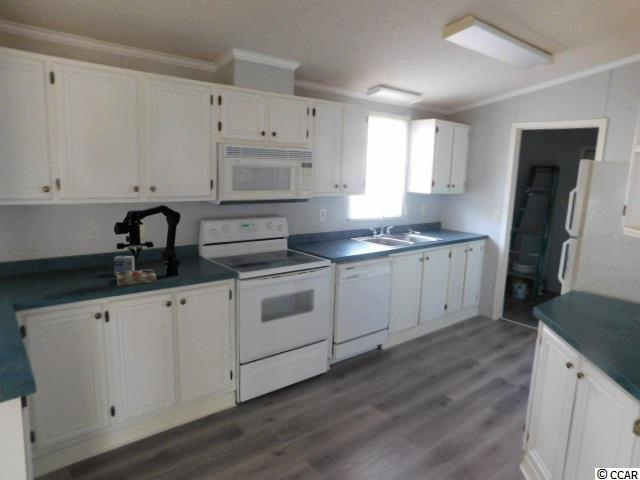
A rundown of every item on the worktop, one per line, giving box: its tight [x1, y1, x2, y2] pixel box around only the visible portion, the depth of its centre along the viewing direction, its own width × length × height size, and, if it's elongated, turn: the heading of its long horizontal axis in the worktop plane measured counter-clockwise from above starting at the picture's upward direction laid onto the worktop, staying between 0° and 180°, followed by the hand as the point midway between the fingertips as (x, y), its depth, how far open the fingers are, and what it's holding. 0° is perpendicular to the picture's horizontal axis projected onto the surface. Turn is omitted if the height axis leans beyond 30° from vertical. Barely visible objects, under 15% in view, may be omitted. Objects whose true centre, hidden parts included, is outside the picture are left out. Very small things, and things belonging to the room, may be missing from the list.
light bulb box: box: [113, 255, 136, 276], centre depth 250 cm, size 11×7×11 cm, turn 105°
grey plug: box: [142, 268, 151, 273], centre depth 241 cm, size 4×4×4 cm
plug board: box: [115, 269, 157, 287], centre depth 235 cm, size 20×16×4 cm
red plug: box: [133, 270, 140, 277], centre depth 231 cm, size 4×4×4 cm
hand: (135, 260), depth 230 cm, fingers closed
